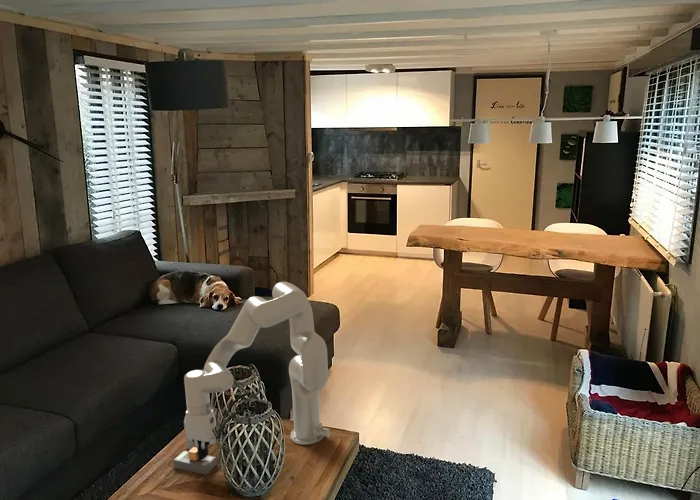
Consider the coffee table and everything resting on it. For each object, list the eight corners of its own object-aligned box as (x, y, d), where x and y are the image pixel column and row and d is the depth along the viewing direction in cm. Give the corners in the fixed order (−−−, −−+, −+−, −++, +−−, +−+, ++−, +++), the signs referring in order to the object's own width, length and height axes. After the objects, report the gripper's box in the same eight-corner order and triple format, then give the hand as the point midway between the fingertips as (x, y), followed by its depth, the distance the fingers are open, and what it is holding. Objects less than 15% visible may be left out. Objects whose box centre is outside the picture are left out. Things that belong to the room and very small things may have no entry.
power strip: (216, 464, 195) (215, 456, 194) (206, 474, 190) (205, 466, 189) (185, 458, 200) (184, 450, 199) (174, 467, 194) (173, 459, 193)
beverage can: (182, 448, 206) (179, 418, 203) (195, 440, 211) (192, 410, 208) (196, 453, 203) (193, 422, 200) (208, 444, 208) (205, 414, 206)
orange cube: (201, 456, 195) (200, 448, 194) (196, 460, 192) (195, 453, 191) (194, 454, 196) (193, 446, 195) (188, 459, 193) (188, 451, 192)
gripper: (224, 405, 189) (228, 454, 193) (186, 399, 194) (191, 447, 198) (211, 416, 182) (216, 467, 186) (172, 409, 188) (178, 459, 191)
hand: (203, 457), depth 192 cm, fingers closed
